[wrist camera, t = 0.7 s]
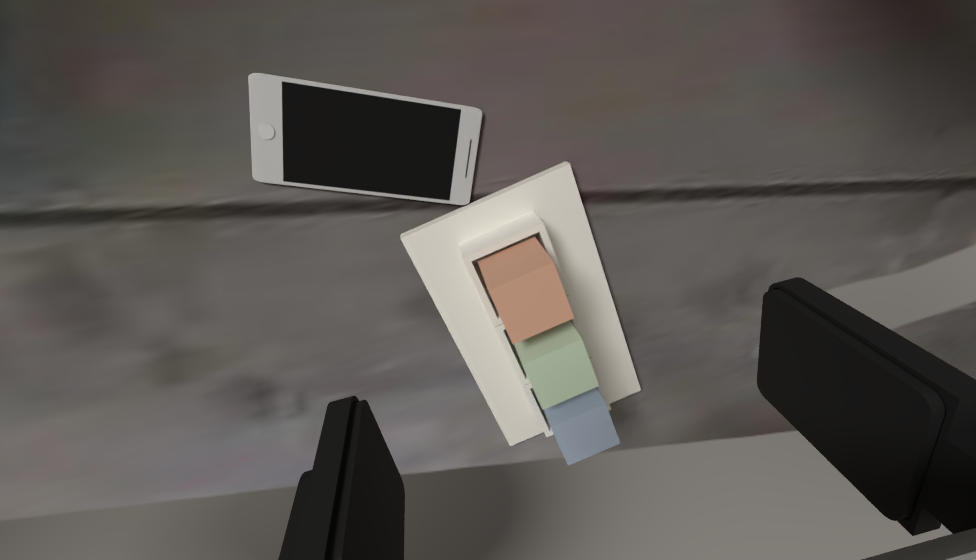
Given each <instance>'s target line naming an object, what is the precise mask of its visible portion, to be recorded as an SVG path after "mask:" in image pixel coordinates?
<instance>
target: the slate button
mask: <svg viewBox="0 0 976 560" xmlns="http://www.w3.org/2000/svg"><path fill="white" fill-rule="evenodd" d="M544 412H545V414H546V417H547V419H548V422H549V424H550V427H551V429H552V431H553V433H554V436H555V438H556V440H557V442H558V444H559V447H560V449H561V451H562V453H563V455H564V458H565V460H566V462H567V464H568V465H571V464H573V463H575V462H578V461H580V460H582V459H584V458H587V457H589V456H592V455H594V454H596V453H599V452H601V451H603V450H606V449H608V448H611V447H613V446H615V445H618V444H620V441H619V438H618V435H617V433H616V430H615V427H614V424H613V422H612V419H611V416H610V414H609V411H608V408H607V405H606V403H605V401H604V400H603V398H602V396H601V395H600V393H599V391H598V389H597V388H596V387H595V388H593V389H591V390H588V391H586V392H584V393H581V394H579V395H577V396H574V397H572V398H570V399H567V400H565V401H563V402H560V403H558V404H556V405H553V406H551V407H549V408H546V409H544Z"/></svg>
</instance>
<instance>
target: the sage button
mask: <svg viewBox="0 0 976 560" xmlns="http://www.w3.org/2000/svg"><path fill="white" fill-rule="evenodd" d="M514 345H515V348H516V350H517V353H518V356H519V358H520V361H521V363H522V366H523V368H524V370H525V372H526V375H527V377H528V379H529V381H530V383H531V385H532V388H533V390H534V392H535V394H536V396H537V399H538V401H539V403H540V405H541V407H542V409H543V410H544V409H546V408H549V407H551V406H553V405H556V404H558V403H560V402H563V401H565V400H567V399H570V398H572V397H574V396H577V395H579V394H581V393H584V392H586V391H588V390H591V389H593V388H595V387H598V386H599V384H598V381H597V378H596V376H595V373H594V370H593V367H592V365H591V362H590V359H589V357H588V354H587V351H586V348H585V346H584V343H583V340H582V338H581V337H580V335H579V333H578V332H577V330H576V329H575V327H574V326H573V324H572V323H571V321H570V320H569V321H566V322H564V323H562V324H559V325H557V326H555V327H552V328H550V329H548V330H546V331H543V332H541V333H539V334H536V335H534V336H532V337H529V338H527V339H525V340H522V341H520V342H518V343H515V344H514Z"/></svg>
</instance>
